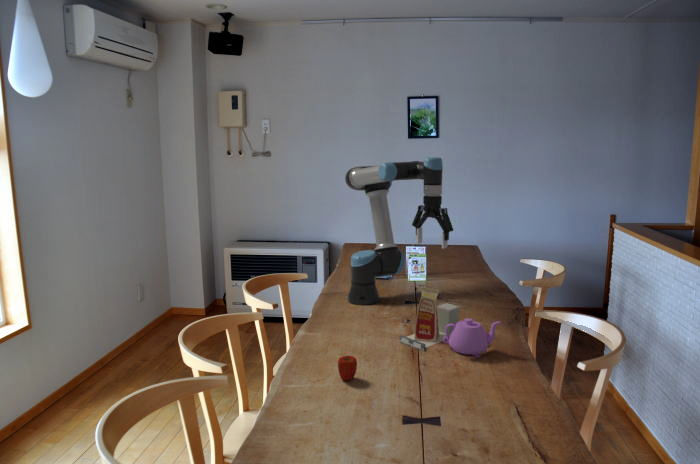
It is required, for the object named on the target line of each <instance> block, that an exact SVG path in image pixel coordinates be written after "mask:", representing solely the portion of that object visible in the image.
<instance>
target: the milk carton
mask: <svg viewBox="0 0 700 464" xmlns="http://www.w3.org/2000/svg"><path fill="white" fill-rule="evenodd" d="M439 293H441V290H438V289H431V288H428V287H425V286H422V285H421V297H420V300H419V303H418V308H417V311H416V318H415V322H414V324H415V325H414V334H415V337H414V340H416V341H427V342H436V341H437V339H438V338H439V327H438V316H437V306H438V303H437V302H438V301H437V300H438V298H437V297H438V295H439Z"/></svg>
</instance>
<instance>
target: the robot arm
mask: <svg viewBox="0 0 700 464" xmlns="http://www.w3.org/2000/svg"><path fill="white" fill-rule="evenodd" d="M443 168H444V167H443V159H442V158H441V157H438V156H437V157H433V156H432V157H431V156H430V157H424V159H423V161H419V160H412V161H401V162H400V161H398V162H395V161H394V162H391V161H388V162H382V163H381V164H379V165H378V164H377V165H366V166H365V165H363V166H362V165H361V166H355V167H351V168H350V169H348V170H347V172H346V174H345V176H344V179H345V183H346V185H347V187H348V188H350V189H351V190H354V191H358V192H359V191H361V192H362V191H364V193H365V196H366V197H368V198H369V200H368V201H369V205H370V210H371V217H372V218H371V219H372V226H373V231H374V237H375V244H376V247H375V248H374V249H373V250H371V249H365V250H360V251H356V252H355V253H353V254H351V257H350V281H351V282H350V288H349V292H348V294H347V302H348V301H349V302H348V303H350V304H352V305H359V306H366V305H367V306H368V304H369V305H373V304H377V303H379V302H380V294H379V291H378V288H377V285H376V282H377V281H376V279H377V278H382V277H388V276H392V277H393V276H395V275H399V274H401V273H402V272H403V270H404V269H405V265H406V264H405V263H406V257H405V254H404V252H403V251H402V250H400V249H399V247H398V245H397V244H395V242H394V233H393V228H392V221H391V214H390V209H389V202H388V196H387V195H388V194H389V192H390V188H392V185H393V184H392V183H393V181H408V180H409V181H410V180H422V181H423V197H422V198H423V199H422V200H423V201H422V202H423V204H421V205H418V206H417V211H416V214H415V216H414V218H413V221H412V223H411V226H412V227H415V235H416V244H422V243H423V227H422V226H423V225H424V224H425V222H426V221H427V219H428V218H432V219H435V220H436V221H437V223H438V224H439V227H440V228H441V229H442V231H443V232H441V249H442V250H443V249H447V248H448V241H449V240H450V232H453V231H454V228H453V224H452V221H451V219H450V216H449V213H448V208H447V207H443V208H442V206H441V205H442V203H443V197H442V194H443V170H444V169H443Z"/></svg>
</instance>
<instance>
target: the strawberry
mask: <svg viewBox="0 0 700 464" xmlns="http://www.w3.org/2000/svg"><path fill="white" fill-rule="evenodd" d="M357 368H358V362H357V359H356V357H355V356H352V355H345V356H344V355H343V356H341V357H339V358H338V360H337V369H338V374H339V377H340V379H341V380H342V381H343V382H344V381H345V382H346V381H350V380H351V381H352V380H353V379H354V377H355V375H356V373H357Z"/></svg>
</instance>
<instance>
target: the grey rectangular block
mask: <svg viewBox="0 0 700 464" xmlns="http://www.w3.org/2000/svg"><path fill="white" fill-rule="evenodd" d="M459 311H460V306H459V305H455V304H452V303H451V304H450V303H447V302H446V303H442V304H439V305H437V316H438V327H439V332H440V333H443V334H446V333H445V327H446V326H447V325H448V324H455V325H456V324H457V323H458V322H459V317H460V316H459V314H460V312H459ZM453 328H454V327H452V326H450V327H448V334H449V335H450V333H451V331H452V329H453Z"/></svg>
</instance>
